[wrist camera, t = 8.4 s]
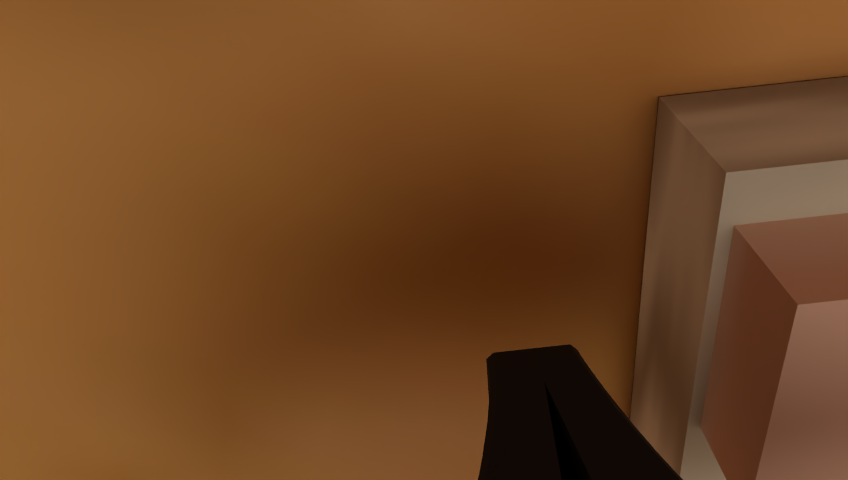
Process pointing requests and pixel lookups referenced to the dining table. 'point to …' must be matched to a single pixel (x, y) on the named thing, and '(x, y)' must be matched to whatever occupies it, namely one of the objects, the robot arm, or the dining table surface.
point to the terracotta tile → (782, 353)
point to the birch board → (721, 233)
